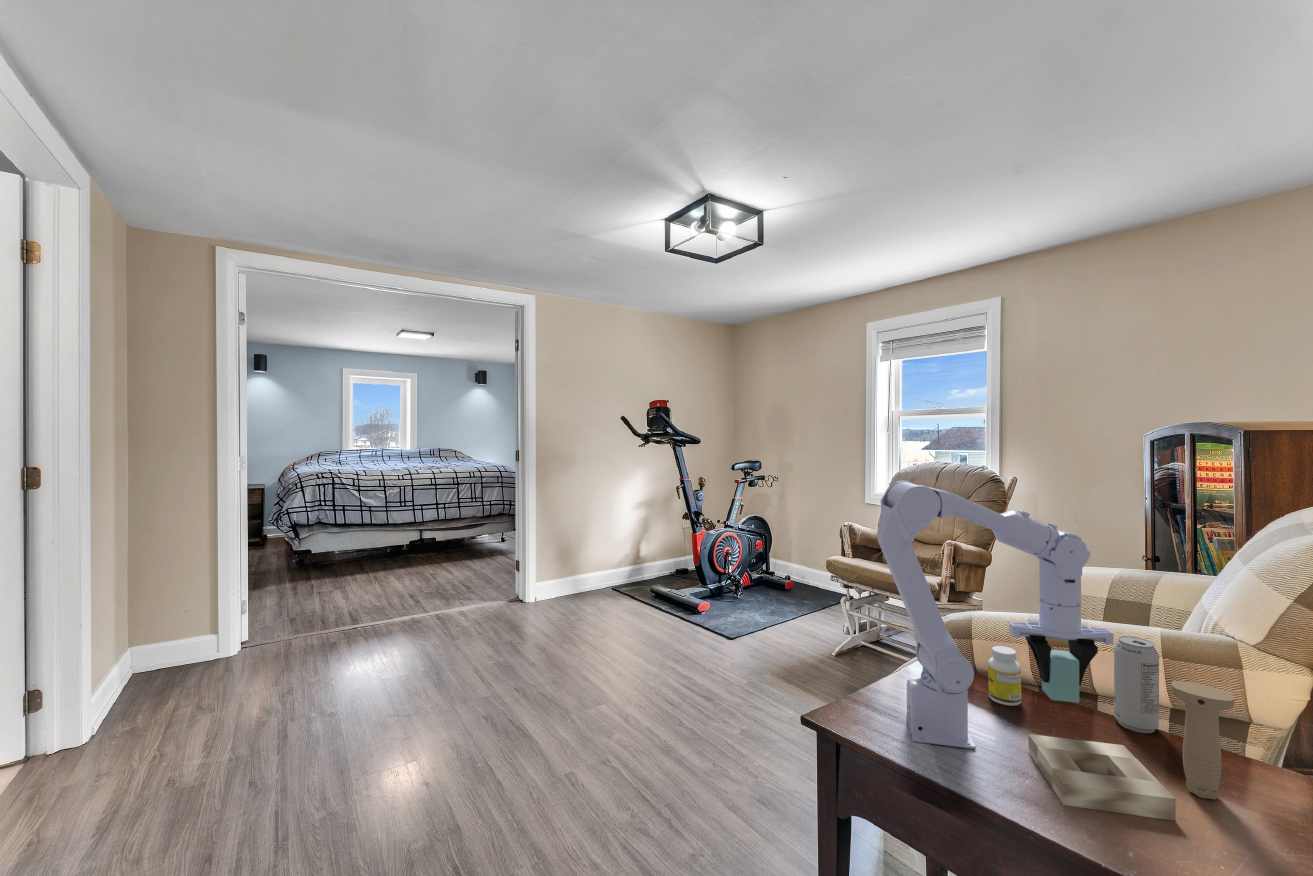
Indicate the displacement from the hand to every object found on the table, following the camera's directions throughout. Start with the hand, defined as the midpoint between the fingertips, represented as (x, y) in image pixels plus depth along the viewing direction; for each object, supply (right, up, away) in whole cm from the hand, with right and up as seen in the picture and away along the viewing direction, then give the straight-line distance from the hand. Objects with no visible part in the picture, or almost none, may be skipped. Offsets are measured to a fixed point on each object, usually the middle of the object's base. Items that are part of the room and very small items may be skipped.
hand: (1060, 681), depth 94 cm
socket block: (-3, -10, -11) cm, 16 cm away
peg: (0, -2, 0) cm, 2 cm away
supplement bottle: (-1, -10, +14) cm, 17 cm away
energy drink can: (+16, -10, +4) cm, 19 cm away
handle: (+10, -10, -14) cm, 20 cm away
